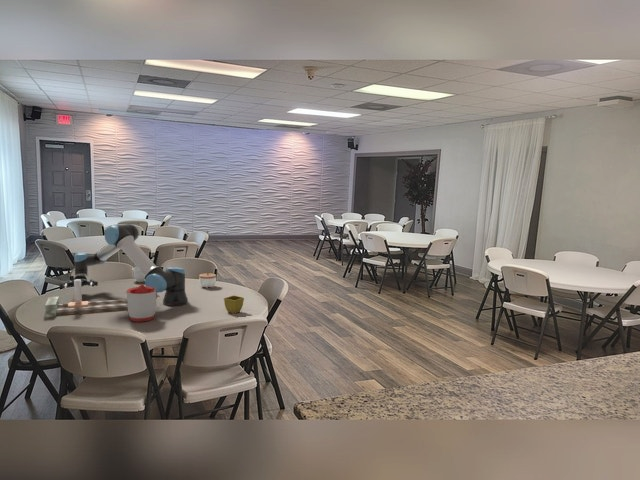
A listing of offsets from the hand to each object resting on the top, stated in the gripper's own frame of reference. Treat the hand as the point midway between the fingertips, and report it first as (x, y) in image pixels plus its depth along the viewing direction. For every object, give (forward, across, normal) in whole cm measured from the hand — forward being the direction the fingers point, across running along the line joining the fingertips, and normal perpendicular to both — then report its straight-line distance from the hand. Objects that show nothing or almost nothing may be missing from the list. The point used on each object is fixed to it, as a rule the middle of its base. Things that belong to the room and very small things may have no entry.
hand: (78, 287), depth 259 cm
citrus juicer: (+36, -34, -12) cm, 51 cm away
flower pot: (+39, -85, -12) cm, 94 cm away
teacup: (-60, -39, -12) cm, 73 cm away
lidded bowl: (-29, -83, -12) cm, 88 cm away
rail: (+8, -8, -12) cm, 17 cm away
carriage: (+8, 0, -10) cm, 13 cm away
